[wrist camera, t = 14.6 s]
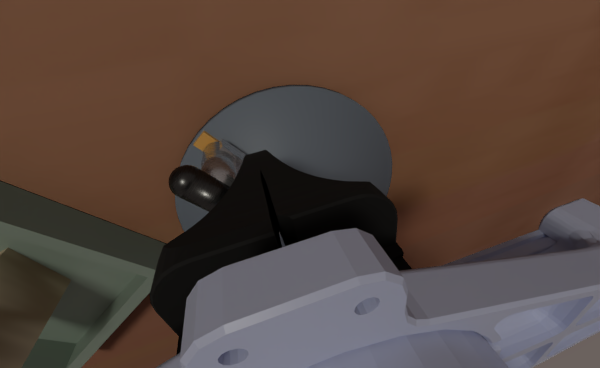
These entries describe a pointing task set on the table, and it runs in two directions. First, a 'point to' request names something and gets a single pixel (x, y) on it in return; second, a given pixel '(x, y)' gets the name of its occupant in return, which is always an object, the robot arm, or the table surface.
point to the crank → (208, 175)
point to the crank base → (298, 137)
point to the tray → (78, 272)
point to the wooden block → (25, 304)
